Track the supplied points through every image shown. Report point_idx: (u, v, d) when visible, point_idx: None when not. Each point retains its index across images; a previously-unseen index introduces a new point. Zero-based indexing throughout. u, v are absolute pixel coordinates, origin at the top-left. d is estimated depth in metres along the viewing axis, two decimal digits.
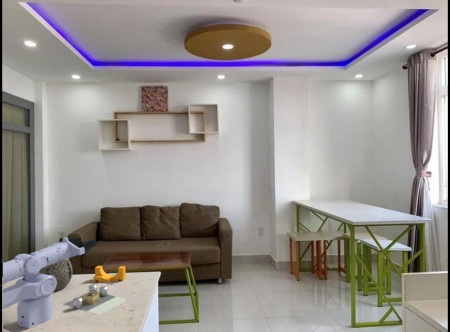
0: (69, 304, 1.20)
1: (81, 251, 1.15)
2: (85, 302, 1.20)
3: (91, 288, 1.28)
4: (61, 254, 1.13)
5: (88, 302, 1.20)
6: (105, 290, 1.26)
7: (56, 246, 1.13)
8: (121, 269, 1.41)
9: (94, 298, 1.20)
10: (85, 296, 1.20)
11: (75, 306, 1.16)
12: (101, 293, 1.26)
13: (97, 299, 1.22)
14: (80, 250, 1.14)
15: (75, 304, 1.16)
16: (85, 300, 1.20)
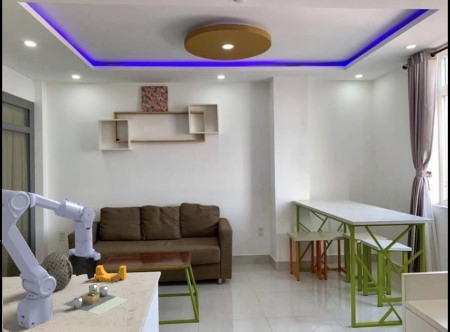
0: (69, 304, 1.20)
1: (98, 255, 1.20)
2: (85, 302, 1.20)
3: (91, 288, 1.28)
4: (89, 242, 1.21)
5: (88, 302, 1.20)
6: (105, 290, 1.26)
7: None
8: (122, 268, 1.42)
9: (94, 298, 1.20)
10: (85, 296, 1.20)
11: (75, 306, 1.16)
12: (101, 293, 1.26)
13: (97, 299, 1.22)
14: (99, 254, 1.20)
15: (75, 304, 1.16)
16: (85, 300, 1.20)
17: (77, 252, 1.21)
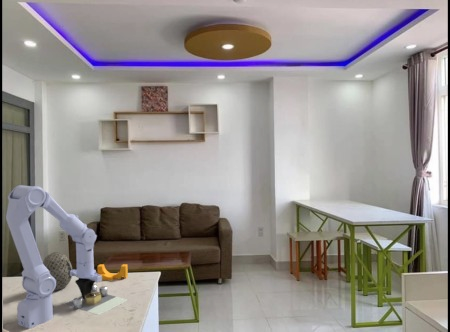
0: (69, 304, 1.20)
1: (99, 278, 1.20)
2: (87, 303, 1.19)
3: None
4: (90, 264, 1.22)
5: (90, 303, 1.19)
6: (105, 290, 1.26)
7: None
8: (124, 267, 1.44)
9: (95, 299, 1.20)
10: (87, 297, 1.20)
11: (75, 306, 1.16)
12: (101, 293, 1.26)
13: (99, 300, 1.21)
14: (100, 276, 1.20)
15: (75, 304, 1.16)
16: (87, 301, 1.19)
17: (78, 274, 1.21)
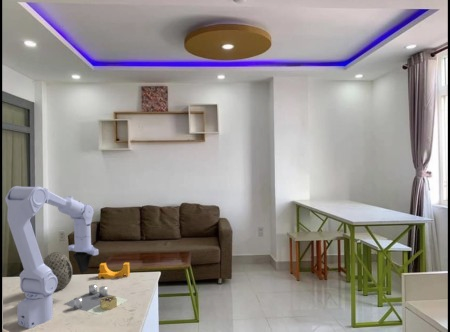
0: (69, 304, 1.20)
1: (96, 251, 1.25)
2: (102, 307, 1.16)
3: (91, 288, 1.28)
4: (87, 238, 1.27)
5: (106, 307, 1.16)
6: (105, 290, 1.26)
7: None
8: (126, 265, 1.46)
9: (111, 303, 1.16)
10: (102, 301, 1.16)
11: (75, 306, 1.16)
12: (101, 293, 1.26)
13: (115, 304, 1.17)
14: (97, 250, 1.25)
15: (75, 304, 1.16)
16: (102, 305, 1.16)
17: (76, 248, 1.26)
